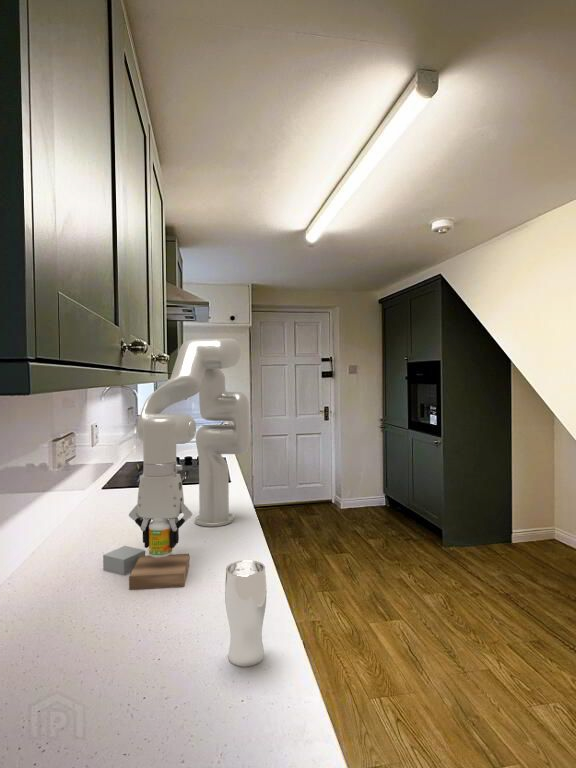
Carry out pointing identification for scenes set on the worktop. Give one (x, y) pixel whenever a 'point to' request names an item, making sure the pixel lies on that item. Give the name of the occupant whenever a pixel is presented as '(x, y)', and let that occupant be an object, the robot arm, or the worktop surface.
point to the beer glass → (245, 611)
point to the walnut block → (159, 572)
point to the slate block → (122, 560)
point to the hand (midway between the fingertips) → (160, 545)
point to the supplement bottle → (159, 538)
